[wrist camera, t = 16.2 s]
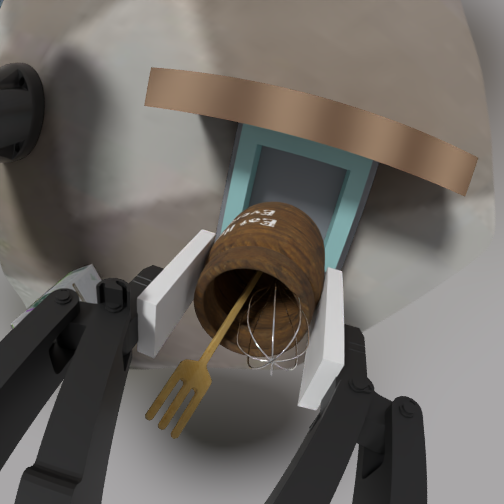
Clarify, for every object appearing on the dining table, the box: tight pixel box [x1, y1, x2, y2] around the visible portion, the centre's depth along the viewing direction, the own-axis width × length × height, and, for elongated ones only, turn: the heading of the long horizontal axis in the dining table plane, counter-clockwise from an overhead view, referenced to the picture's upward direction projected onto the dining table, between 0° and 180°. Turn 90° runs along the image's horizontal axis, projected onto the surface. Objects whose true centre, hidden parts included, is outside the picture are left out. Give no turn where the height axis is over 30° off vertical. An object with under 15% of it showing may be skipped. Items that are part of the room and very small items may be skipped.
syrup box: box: [10, 264, 102, 329], centre depth 38 cm, size 6×6×14 cm
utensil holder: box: [145, 202, 325, 439], centre depth 14 cm, size 6×6×12 cm
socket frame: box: [220, 123, 373, 272], centre depth 30 cm, size 12×12×3 cm
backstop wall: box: [144, 67, 478, 196], centre depth 24 cm, size 24×3×10 cm, turn 77°
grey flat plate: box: [215, 122, 379, 276], centre depth 34 cm, size 14×22×1 cm, turn 167°
